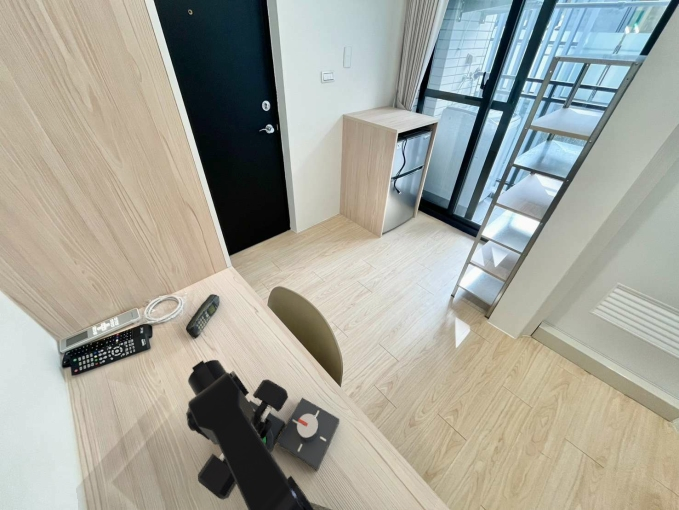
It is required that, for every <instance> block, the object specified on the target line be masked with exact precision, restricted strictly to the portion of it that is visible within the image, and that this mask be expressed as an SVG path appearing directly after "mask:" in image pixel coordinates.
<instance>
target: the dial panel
mask: <svg viewBox="0 0 679 510" xmlns="http://www.w3.org/2000/svg"><path fill="white" fill-rule="evenodd" d="M304 414H312V415H314V416H315V417H316V419H317V421H318V426H319V433H318V435H317V437H316V438H315V439H314V440H313V441H311V442H305V441H303V440H302V439H301V437H300V435H299V433H298V431H297V423H298V420H299V418H300V417H301V416H303V415H304ZM339 424H340V418H338V417H336V416H335V415H333V414H332V413H330V412H328V411H327V410H324V409H323V408H322V407H319V406H318V405H316V404H314V403H312V402H311V401H309V400H307V399H305V398H304V397H301V399H300V400H299V402H298V404H297V405H296V408H294V410H293V413H292V415H291V416H290V418H289V419H288V421H287V424H286V425H285V427H284V428H283V430H282V432H281V434H280V435H279V437H278V439H277V441H276V442H277V444H278V446H279V447H281V448H282V449H284V450H286V451H287V452H289V453H290V454H291V455H293V456H294V457H296V458H298V459H299V460H301V461H302V462H303V463H305V464H306V465H308V466H309V467H311V468H313V469H314V470H316V471H317V472H318V471H319V470H320V467H321V466H322V463H323V461H324V459H325V456H326V453H327V451H328V450H329V447H330V445H331V443H332V440H333V438H334V436H335V433H336V432H337V430H338V427H339Z"/></svg>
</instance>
